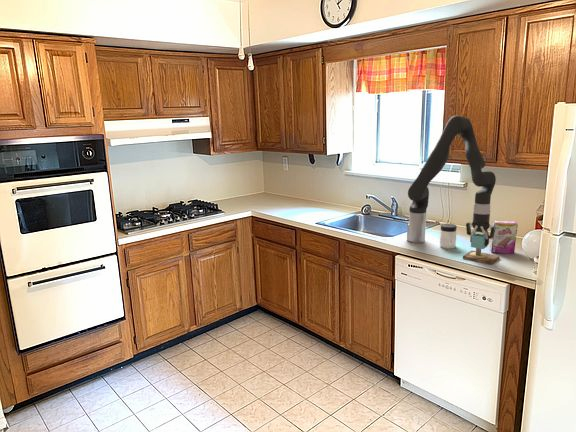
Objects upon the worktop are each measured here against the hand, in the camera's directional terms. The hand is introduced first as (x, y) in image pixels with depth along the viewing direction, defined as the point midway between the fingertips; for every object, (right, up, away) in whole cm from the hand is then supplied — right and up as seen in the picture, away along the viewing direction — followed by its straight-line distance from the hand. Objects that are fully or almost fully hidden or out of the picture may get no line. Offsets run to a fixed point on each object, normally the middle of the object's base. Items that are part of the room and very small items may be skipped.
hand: (479, 244), depth 220 cm
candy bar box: (+16, -5, +10) cm, 19 cm away
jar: (-8, -3, +22) cm, 23 cm away
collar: (0, -1, 0) cm, 1 cm away
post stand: (+1, -7, +1) cm, 7 cm away
